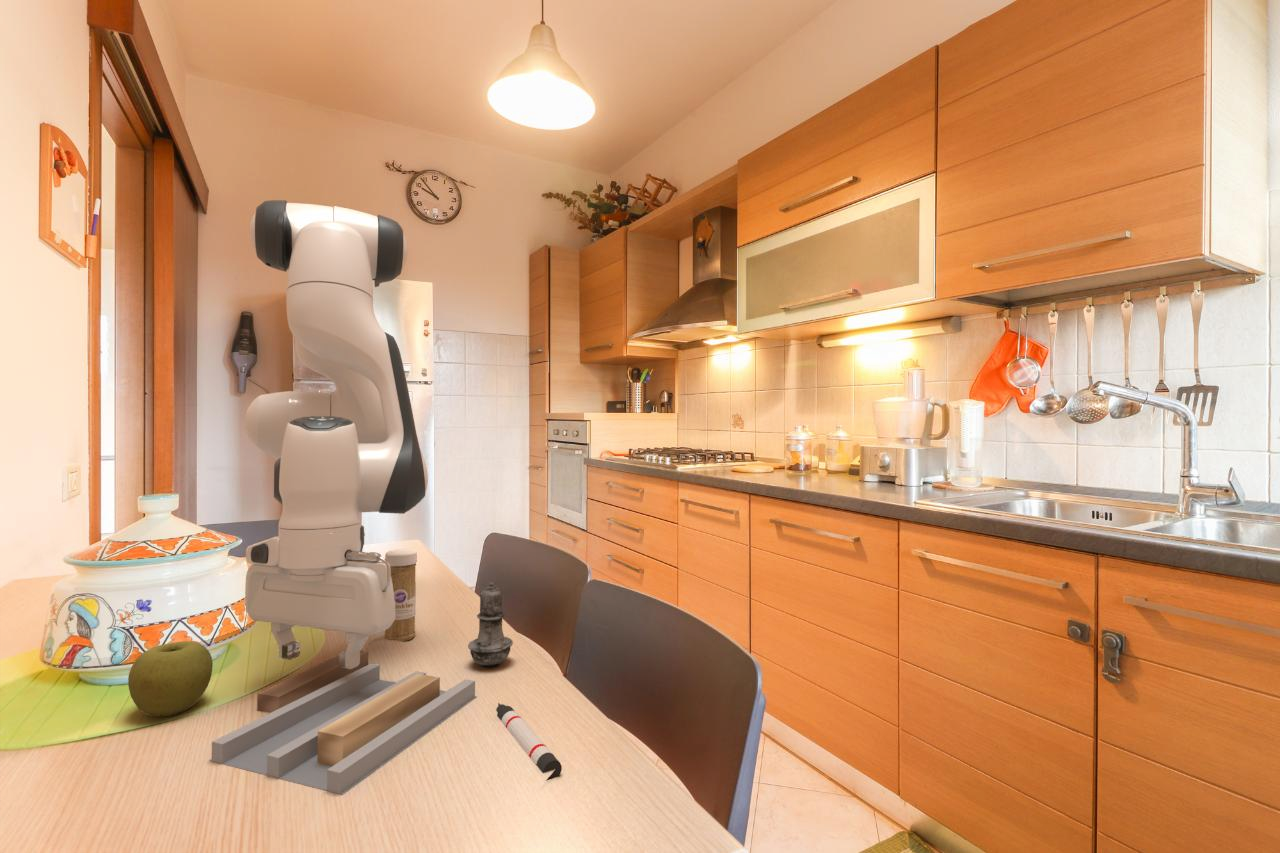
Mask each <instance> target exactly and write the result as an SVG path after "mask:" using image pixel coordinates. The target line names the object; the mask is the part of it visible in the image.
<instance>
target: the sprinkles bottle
mask: <svg viewBox="0 0 1280 853" xmlns="http://www.w3.org/2000/svg"><path fill="white" fill-rule="evenodd" d="M384 557H385V558H384V559H385V560H386V561H387V563H389V564H390V569H391V579H392V584H393V591H394V600H395V620H394V622H393V624H392V625H391V626H390V628H388V629H386V630H384V631H385V632H384V637H383V639H385V640H388V641H389V640H390V641H397V642H405V641H409V640H412V639H413V638H414V637H416V630H415V628H416V627H415V626H416V624H415V623H416V621H415V620H416V604H417V603H416V590H417V589H416V588H417V587H416V584H417V583H416V566H417V562H418V552H417V550H416V549H410V548H409V549H408V548H399V549H392V550H388V551H386V552H385V556H384Z"/></svg>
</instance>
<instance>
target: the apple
mask: <svg viewBox="0 0 1280 853" xmlns="http://www.w3.org/2000/svg"><path fill="white" fill-rule="evenodd" d="M213 664H214V663H213V657H212V655H211V653H210V651H209V649H207V647H206V646H204V644H202V643H199V642H196V641H192V640H187V641H186V640H183V641H177V642H170V643H164V644H163V643H162V644H159V645H156V646H153V647H152V648H149V649H147V650H146V651H144V652H142V653H141V654H140V655H139V656H138V657H137V658H136V659H135V660H134V662H133V664H132V666H131V668H130V670H129V673H128V680H127V681H128V682H127V683H128V684H127V685H128V690H129V694H130V697H131V699H132V701H133V703H134V705H135V706H136V708H138V710H140V711H141V712H142V713H143V714H145V715H148V716H150V717H151V716H152V717H171V716H174V715H178V714H180V713H182V712H185V711H186V710H188V709H190V708H191V707H192V706H194V705H195V704H196V703H197V701H199V700H200V699H201V697H202V696H203V695H204V694H205V691H206V690H207V689H208V687H209V685H210V684H209V683H210V682H211V678H212V674H213V668H214V667H213Z"/></svg>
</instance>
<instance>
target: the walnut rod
mask: <svg viewBox="0 0 1280 853" xmlns="http://www.w3.org/2000/svg"><path fill="white" fill-rule="evenodd" d="M344 652H346V650H345V651H344ZM339 662H340V660H339V654H337V655H335V656H333V657H330V658H328V659H326V660H324V661H323V662H321V663H318V664H316V665H314V666H312V667H310V668H308V669H305V670H302V672H299V673H297V674H295V675H293V676H291V677H288V678H287V679H285V680H283V681H281V682H279V683H276V684H274V685H273V686H270V687H268V688H266V689H264V690H262V691H260V692H258V693H257V694H256V697H257V698H256V703H257V704H256V711H257V712H263V713H268V714H269V713H271V712H273V711H275V710H277V709H279V708H282V707H284V706H286V705H288V704H290V703H292V702H294V701H296V700H298V699H300V698H302V697H304V696H306V695H308V694H310V693H312V692H314V691H316V690H318V689H320V688H322V687H324V686H326V685H328V684H330V683H332V682H334V681H337V680H339V679H341V678H343V677H345V676H347V675H349V674H351V673H353V672H355V671H357V670H359V669H361V668H363V667H365V666H367V665H369V651H364V650H360V663H359V665H358V666H357V667H355V668H353V669H345V668H340V667H339Z"/></svg>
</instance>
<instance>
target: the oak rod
mask: <svg viewBox="0 0 1280 853" xmlns="http://www.w3.org/2000/svg"><path fill="white" fill-rule="evenodd" d="M440 684H441V677H440V676H433V675H428V674H426V675H422V674H417V675H415V676H414V677H412V678H410V679H408V680H407V681H405V682H403V683H401V684H400V685H398V686H396V687H394V688H393V689H391V690H389V691H387V692H386V693H384V694H382V695H380V696H379V697H377V698H375V699H373V700H372V701H370V702H368V703H366V704H365V705H363V706H361V707H359V708H358V709H356V710H354V711H352V712H351V713H349V714H347V715H345V716H344V717H342V718H340V719H338V720H337V721H335V722H333V723H331V724H329V725H328V726H326V727H324V728H322V729H321V730H319V731H318V758H317V763H319V764H323V765H327V766H331V767H332V766H334V765H335V764H337V763H338V762H340V761H341V760H343V759H344V758H346V757H347V756H349V755H350V754H352V753H353V752H355V751H356V750H358V749H360V748H361V747H363V746H364V745H366V744H367V743H369V742H370V741H372V740H373V739H375V738H376V737H378V736H379V735H381V734H382V733H384V732H385V731H387V730H388V729H390V728H392V727H393V726H395V725H396V724H398V723H399V722H401V721H402V720H404V719H405V718H407V717H408V716H410V715H411V714H413V713H414V712H416V711H417V710H419V709H420V708H422V707H424V706H425V705H427V704H428V703H430V702H431V701H433V700H434V699H436V698H437V697H439V696H440V690H441V685H440Z"/></svg>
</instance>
